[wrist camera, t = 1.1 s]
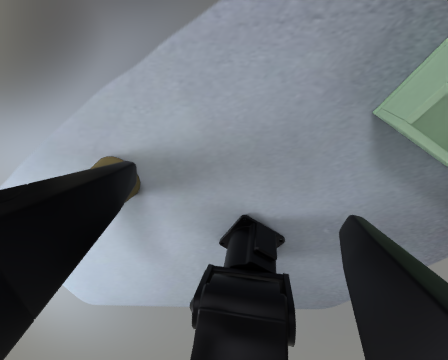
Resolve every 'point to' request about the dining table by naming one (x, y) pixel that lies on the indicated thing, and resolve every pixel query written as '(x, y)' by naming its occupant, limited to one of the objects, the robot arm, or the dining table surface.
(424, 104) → the tray
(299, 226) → the dining table surface
